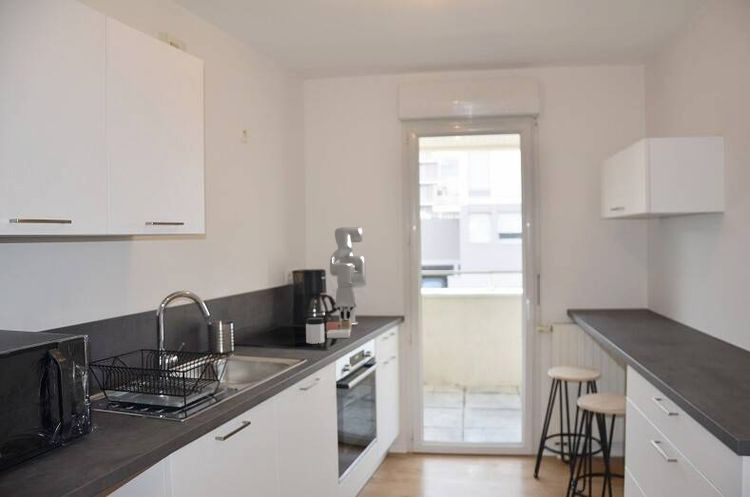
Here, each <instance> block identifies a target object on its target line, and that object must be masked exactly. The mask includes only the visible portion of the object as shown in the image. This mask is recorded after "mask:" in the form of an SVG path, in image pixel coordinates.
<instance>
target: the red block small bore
mask: <svg viewBox="0 0 750 497" xmlns="http://www.w3.org/2000/svg"><path fill="white" fill-rule="evenodd" d="M338 322H339V321H327V322H326V325H325V330H326V335H327V332H328V331H329V330H339V325H338Z"/></svg>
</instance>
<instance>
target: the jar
mask: <svg viewBox="0 0 750 497" xmlns="http://www.w3.org/2000/svg"><path fill="white" fill-rule="evenodd" d="M305 335H306V336H305V338H306V341H305V342H306V344H310V345H312V344H313V345H315V344H318V343H319V344H323V343H325V323H324V317H307V318H306V323H305ZM319 344H318V345H319Z"/></svg>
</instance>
